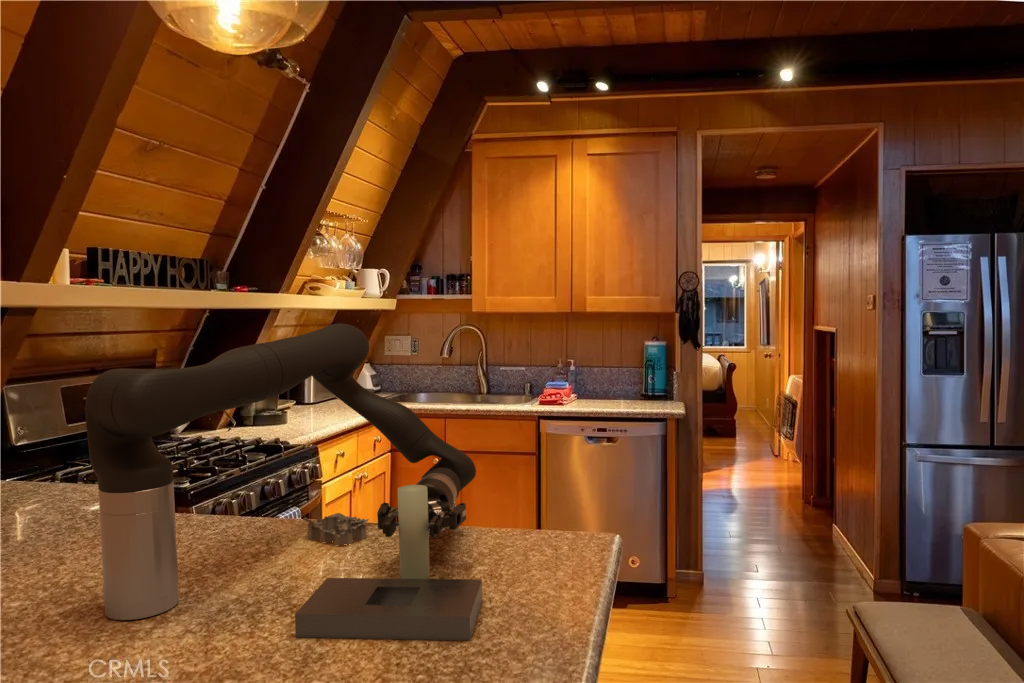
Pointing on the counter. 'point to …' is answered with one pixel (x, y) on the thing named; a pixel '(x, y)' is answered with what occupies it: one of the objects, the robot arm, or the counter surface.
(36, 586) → the counter surface
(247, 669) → the counter surface
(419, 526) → the peg
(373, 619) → the brown block with hole
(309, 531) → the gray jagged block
